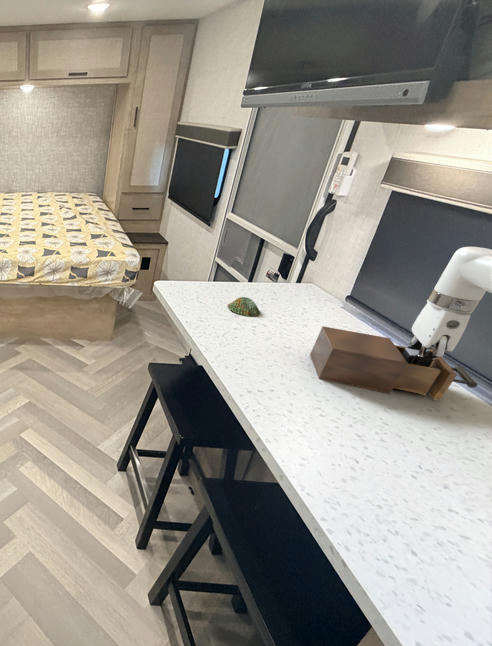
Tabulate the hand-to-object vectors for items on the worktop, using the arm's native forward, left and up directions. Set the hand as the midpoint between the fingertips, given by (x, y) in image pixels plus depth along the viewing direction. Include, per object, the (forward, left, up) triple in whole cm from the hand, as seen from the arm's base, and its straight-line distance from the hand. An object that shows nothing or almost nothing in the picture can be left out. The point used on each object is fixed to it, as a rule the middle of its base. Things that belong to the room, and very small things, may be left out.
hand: (413, 364), depth 100 cm
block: (0, 0, 0) cm, 0 cm away
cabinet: (+11, 0, -6) cm, 13 cm away
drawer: (-1, 0, -5) cm, 5 cm away
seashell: (+34, -30, -6) cm, 46 cm away
